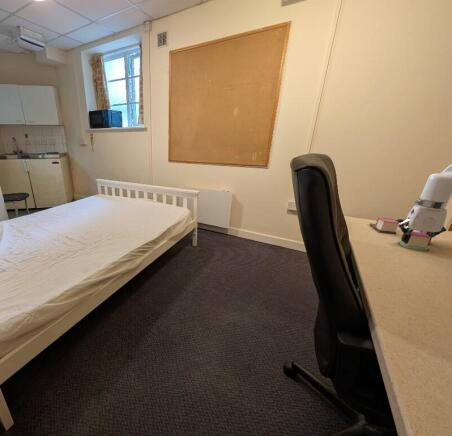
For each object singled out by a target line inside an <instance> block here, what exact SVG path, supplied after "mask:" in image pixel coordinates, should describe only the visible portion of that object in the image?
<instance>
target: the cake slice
mask: <svg viewBox="0 0 452 436" xmlns="http://www.w3.org/2000/svg"><path fill="white" fill-rule="evenodd" d="M410 235H411V236H410V238H409V241H408V243H406V244H407V245H411V246H419V247H427V248H428V246H429V244H428V242H429V240H430V238H431V237H430V236H429V235H427V234H425V233H421V232H416V231H413V232H411V233H410ZM427 245H428V246H427Z"/></svg>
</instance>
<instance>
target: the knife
mask: <svg viewBox="0 0 452 436" xmlns="http://www.w3.org/2000/svg"><path fill="white" fill-rule="evenodd" d="M379 218H381V219H389V218H385V217H377V220H376V222H375V224H376V225H375V227H376V226H377V223H378V221H379ZM391 219H392V220H395V221H397V222H399V223H401V222H403V221H405V220H406V219H404V218H403V219H402V218H397V219H394V218H391Z"/></svg>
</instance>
